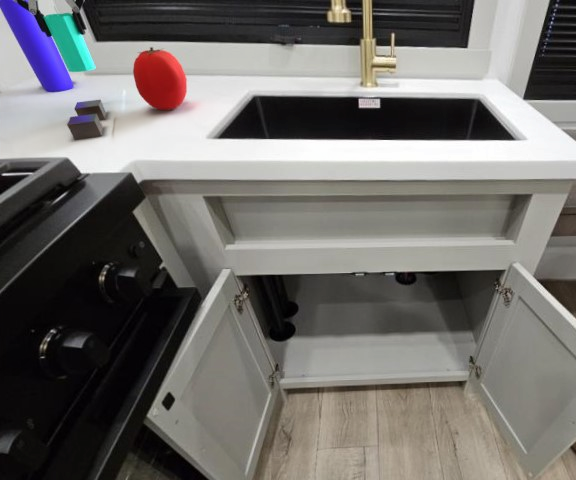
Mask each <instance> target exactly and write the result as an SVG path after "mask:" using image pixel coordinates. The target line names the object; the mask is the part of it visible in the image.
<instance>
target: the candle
mask: <svg viewBox="0 0 576 480" xmlns="http://www.w3.org/2000/svg"><path fill="white" fill-rule="evenodd" d="M53 9H54V10H55V12H56V13H51V14H46V15H44V17H43V18H44V20H45V22H46V24H47V26H48V28H49V30H50V33H51V35H52V36H51V37H52V39H53V41H54V43H55V45H56V47H57V49H58V51H59V54H60V56H61V58H62V60H63V62H64V64H65V67H66V69H67V71H68V73H82V72H89V71H92V70H95V69H97V67H96V65H95V63H94V61H93V58H92V55H91V53H90V51H89V49H88V46H87V44H86V41H85V39H84V35H82V34H80V32H79V30H78V27H77V25H76V22H75V20H74V18H73V15H72V13H71V12H64V13H63V12H62V13H58V10H57V9H56V7H55V6H53Z"/></svg>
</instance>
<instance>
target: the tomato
mask: <svg viewBox="0 0 576 480" xmlns="http://www.w3.org/2000/svg"><path fill="white" fill-rule="evenodd" d="M132 72H133V79H134V82H135V87H136V89H137V92H138V94H139V95H140V97H141V98H142V99H143V100H144V101H145V102H146V103H147V104H148V105H149V106H150V107H152V108H153V109H157V110H160V111H170V110H174V109H176V108H178V107H180V106H181V105H182V104H183V102H184V100H185V99H186V95H187V93H188V92H187V91H188V90H187V89H188V87H187V86H188V85H187V84H188V83H187V81H188V80H187V76H186V73H185V71H184V68H183V67H182V64H181V63H180V61H179V60H178V59H177V58H176V57H175V56H174V55H173V54H172V53H171V52H169V51H167V50H164V49H163V48H161V49H154V47H153V46H150V47H149V49H148V50H147V49H146V50H143V51H139V52H138V55H137V57H135V59H134V62H133V69H132Z"/></svg>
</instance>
